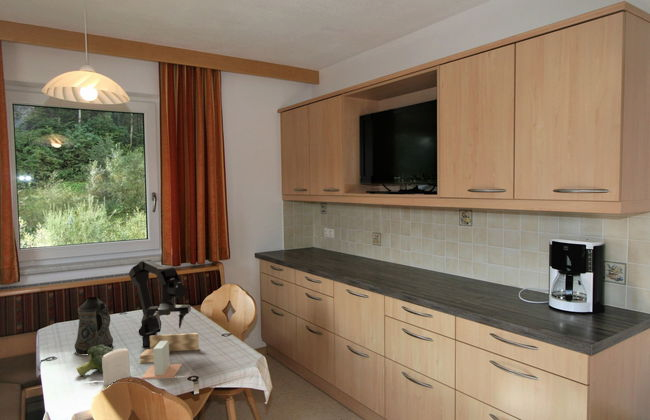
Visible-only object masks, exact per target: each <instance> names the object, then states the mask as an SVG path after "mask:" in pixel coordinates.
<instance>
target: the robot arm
mask: <svg viewBox="0 0 650 420" xmlns="http://www.w3.org/2000/svg"><path fill="white" fill-rule="evenodd" d="M150 273H151V274H154V275H155V276H156V279H158V280H159V282H158V285H159V286H160V288H161V289H160V290H161V291H160V293H161V295H160V296H161V298H160V304H159V306H158V305H155V306H153V303H152V299H151V295H150V293H151V292H150V290H149V286H148V281H149V279H150ZM128 275H129V278H130V280H131V283H132V284H133V285H135V286H136V289H137V293H138V298H139V301H140V302H139V303H140V307H141V309H142V310H141V311H142V318H141V322H140V324H141V325H140V327H139V328H138V329H139V330H138V335H139V336H141V338H142V340H141V341H142V346H141V348H142V349H144V348H147V349H148V348H150V336H152V335H158V333H161V329H162V321H161V316H169V315H171V313H173V312H175V313H176V312H178V313H179V314H178V318H179V319H178V328H179V329H181V328H182V325H183V321H184V319H185V316H186V315H187V314H190V313H191V310H192V306H191V305H190V304H181V305H180V307H179V306H178V307H176V305H177V304H176V298H178V299H181V298H184V297H185V296H186V293H187V288H186V287H185V285H183V282H182V281H181V277H180V275H179V274H178V272H177V270H176V269H175V267H173V266H164V265H161V264H159V263H156V262H154V261H152V259H144V260H140V261H139V262H138V264H136V265H134V266H133V267H131V269H130V270H129V271H128Z"/></svg>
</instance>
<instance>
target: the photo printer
mask: <svg viewBox="0 0 650 420" xmlns="http://www.w3.org/2000/svg"><path fill="white" fill-rule="evenodd" d="M129 352H130V351H129V350H128V349H127V348H117V349H115V350H113V351H111V352H109V353H107V354H105V355H104V356H103V357H102V367H103V374H102V379H103V385H104V386H110V385H112V384H111V383H113V382H114V381H115V380H117V379H119V378H123V377H128V378H130V377H131V362H130V360H131V359H130V353H129ZM113 384H114V383H113Z"/></svg>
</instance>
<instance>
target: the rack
mask: <svg viewBox="0 0 650 420" xmlns="http://www.w3.org/2000/svg"><path fill="white" fill-rule="evenodd" d="M160 341H169V354H170V353H171V352H176V351H179V352H180V351H194V350H195V351H196V350H199V349H200V345H199V344H200V343H199V333H197V332H194V333H175V334H157V335H152V336H150V347H149V349H154V347H155V346H156V345H157V344H158V343H159V342H160Z"/></svg>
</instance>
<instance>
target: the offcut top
mask: <svg viewBox="0 0 650 420" xmlns="http://www.w3.org/2000/svg"><path fill="white" fill-rule="evenodd" d="M151 358H154V352H153V349H150V348H149V349H148V348H147V349H145V350H143V352H142V353H141V354H140V355H139V360H140V359H151Z"/></svg>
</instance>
